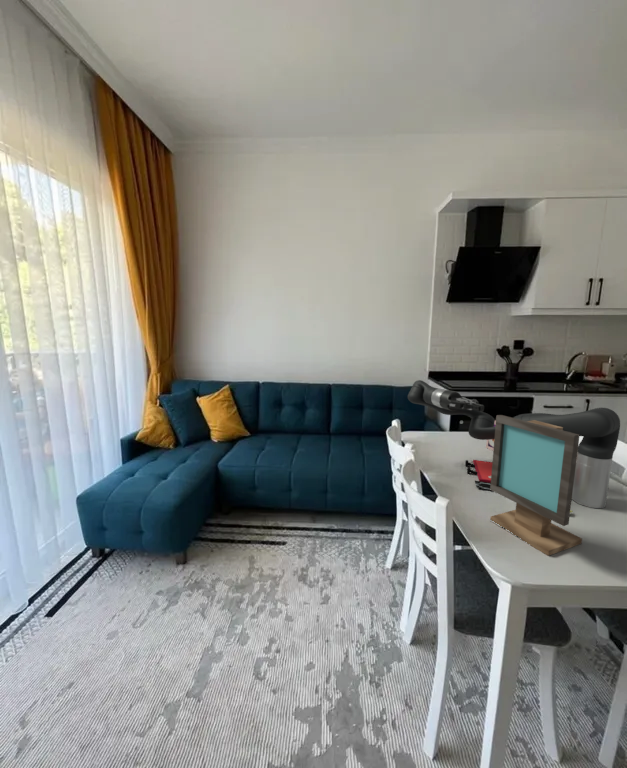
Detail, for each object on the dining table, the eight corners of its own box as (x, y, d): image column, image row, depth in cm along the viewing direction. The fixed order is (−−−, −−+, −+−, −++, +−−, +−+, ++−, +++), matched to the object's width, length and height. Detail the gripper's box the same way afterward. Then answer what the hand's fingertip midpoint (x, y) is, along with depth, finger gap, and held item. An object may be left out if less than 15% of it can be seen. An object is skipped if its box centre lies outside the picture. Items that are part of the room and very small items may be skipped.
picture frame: (494, 488, 108) (501, 414, 104) (568, 524, 88) (579, 434, 84) (490, 489, 107) (496, 415, 104) (563, 526, 87) (574, 435, 83)
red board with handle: (470, 488, 128) (515, 495, 124) (471, 481, 128) (516, 488, 123) (463, 461, 157) (500, 466, 152) (464, 455, 156) (501, 460, 151)
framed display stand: (521, 512, 112) (531, 414, 107) (581, 543, 96) (597, 430, 90) (490, 520, 107) (499, 418, 101) (548, 555, 90) (563, 436, 85)
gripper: (458, 407, 138) (495, 417, 122) (432, 409, 133) (467, 420, 117) (459, 388, 137) (497, 396, 121) (433, 391, 132) (469, 399, 116)
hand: (482, 408), depth 119 cm, fingers closed
